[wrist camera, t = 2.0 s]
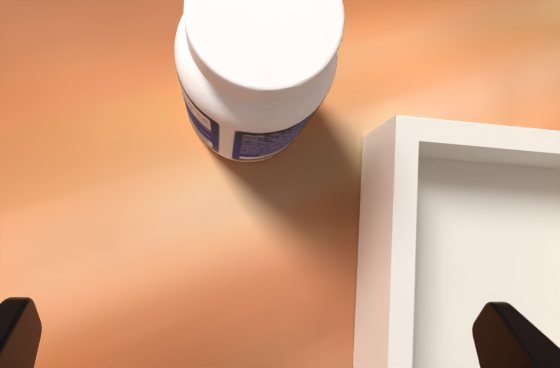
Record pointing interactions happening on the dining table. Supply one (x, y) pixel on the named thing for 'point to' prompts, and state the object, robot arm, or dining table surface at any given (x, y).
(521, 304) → the tote
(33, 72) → the dining table surface
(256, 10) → the pill bottle
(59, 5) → the dining table surface
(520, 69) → the dining table surface
